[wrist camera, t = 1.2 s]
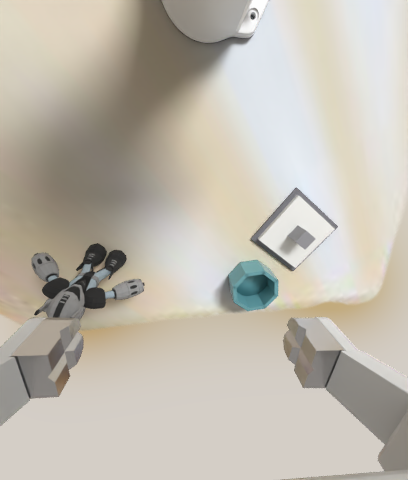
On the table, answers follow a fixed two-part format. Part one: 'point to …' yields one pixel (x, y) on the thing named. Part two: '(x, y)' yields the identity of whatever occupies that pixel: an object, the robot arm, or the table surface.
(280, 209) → the mat
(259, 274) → the bowl
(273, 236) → the cover sheet
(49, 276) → the robot
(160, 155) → the table surface
